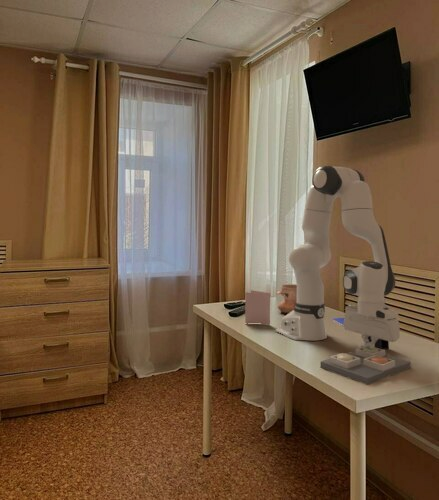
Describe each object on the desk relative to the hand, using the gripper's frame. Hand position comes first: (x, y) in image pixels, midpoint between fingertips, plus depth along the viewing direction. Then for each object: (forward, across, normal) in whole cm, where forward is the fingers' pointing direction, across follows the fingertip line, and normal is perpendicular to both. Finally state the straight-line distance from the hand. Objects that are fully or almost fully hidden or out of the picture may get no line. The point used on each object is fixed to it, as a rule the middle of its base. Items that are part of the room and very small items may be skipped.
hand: (369, 347), depth 147 cm
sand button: (+2, 0, -14) cm, 14 cm away
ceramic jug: (+5, -67, +32) cm, 74 cm away
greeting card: (+5, -61, +1) cm, 61 cm away
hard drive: (+6, -37, +36) cm, 53 cm away
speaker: (+5, -7, +14) cm, 17 cm away
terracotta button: (+2, +8, -7) cm, 11 cm away
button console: (+5, +3, -7) cm, 9 cm away
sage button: (+2, 0, 0) cm, 2 cm away
